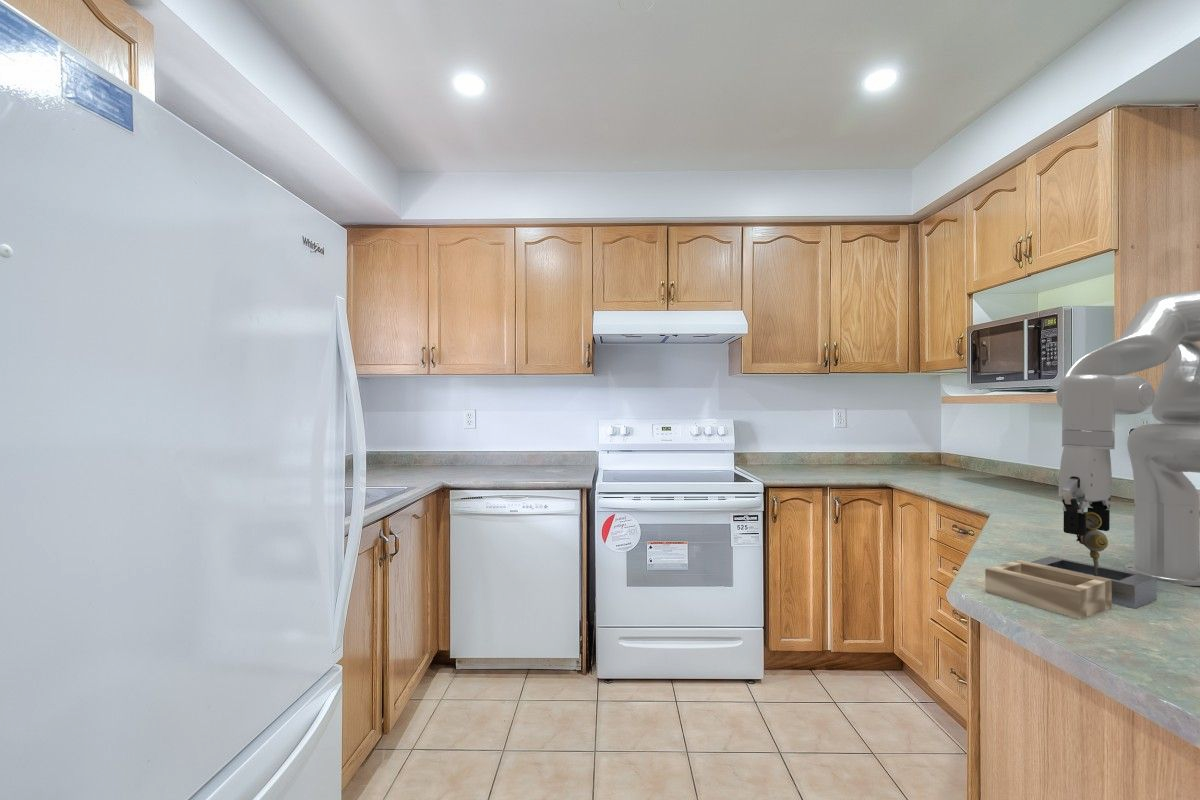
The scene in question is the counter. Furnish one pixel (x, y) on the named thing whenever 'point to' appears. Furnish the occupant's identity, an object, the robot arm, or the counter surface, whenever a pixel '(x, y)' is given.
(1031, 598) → the socket
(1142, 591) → the gray rectangular tray
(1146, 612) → the counter surface
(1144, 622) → the counter surface
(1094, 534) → the regulator
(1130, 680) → the counter surface
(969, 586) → the counter surface
